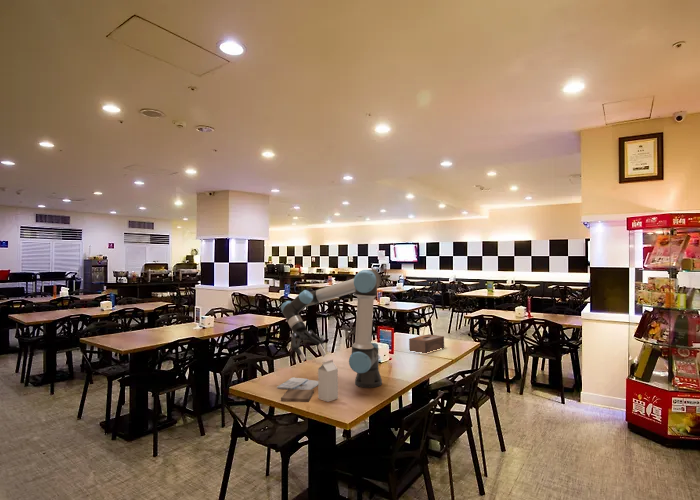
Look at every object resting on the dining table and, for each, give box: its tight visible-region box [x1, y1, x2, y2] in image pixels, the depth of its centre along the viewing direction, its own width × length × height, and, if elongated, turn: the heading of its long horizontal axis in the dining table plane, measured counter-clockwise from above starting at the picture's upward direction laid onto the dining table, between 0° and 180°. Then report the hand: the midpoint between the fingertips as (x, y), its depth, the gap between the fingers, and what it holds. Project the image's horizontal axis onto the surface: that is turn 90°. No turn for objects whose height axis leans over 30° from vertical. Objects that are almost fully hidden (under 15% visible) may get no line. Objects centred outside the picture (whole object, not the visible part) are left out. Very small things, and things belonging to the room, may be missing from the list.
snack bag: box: [276, 376, 318, 390], centre depth 222 cm, size 19×20×2 cm
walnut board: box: [280, 389, 315, 403], centre depth 203 cm, size 14×14×2 cm
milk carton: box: [317, 359, 339, 403], centre depth 199 cm, size 7×7×19 cm
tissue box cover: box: [408, 333, 445, 353], centre depth 307 cm, size 26×14×10 cm, turn 134°
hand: (314, 357), depth 207 cm, fingers open, 13 cm apart
